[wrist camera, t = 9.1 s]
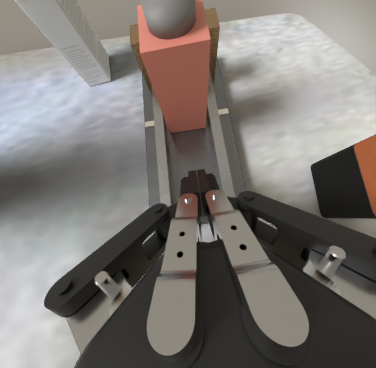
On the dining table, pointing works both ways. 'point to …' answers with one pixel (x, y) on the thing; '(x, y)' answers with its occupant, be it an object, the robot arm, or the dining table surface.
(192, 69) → the pink dome-topped pillar
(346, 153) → the battery
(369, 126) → the dining table surface
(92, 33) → the skincare box
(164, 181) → the rail
